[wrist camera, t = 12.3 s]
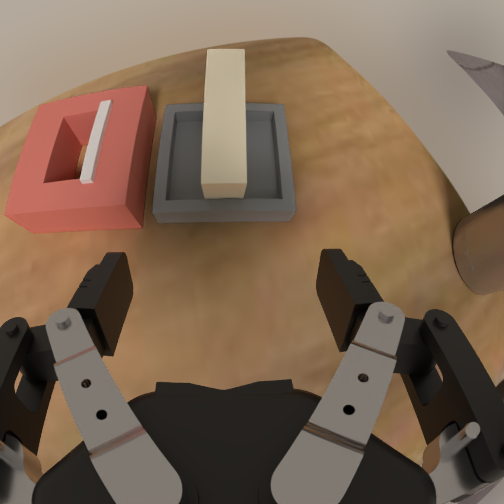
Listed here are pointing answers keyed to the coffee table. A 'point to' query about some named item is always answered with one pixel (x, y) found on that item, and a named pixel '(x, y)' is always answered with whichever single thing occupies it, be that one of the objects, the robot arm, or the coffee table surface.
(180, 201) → the tray
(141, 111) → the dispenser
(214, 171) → the tall beige block
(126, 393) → the coffee table surface
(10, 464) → the robot arm
